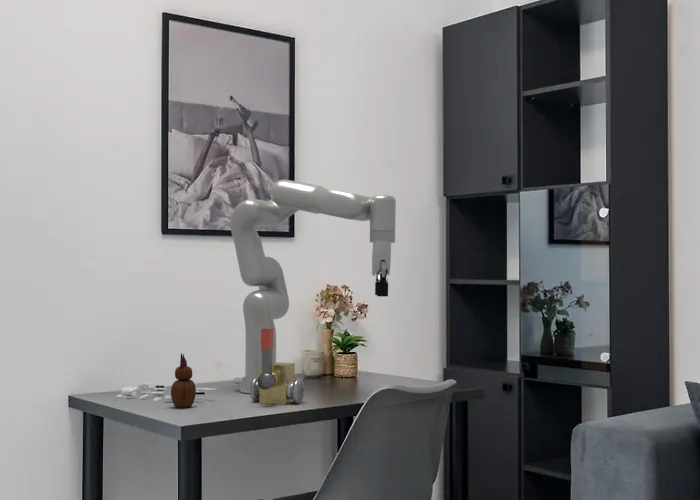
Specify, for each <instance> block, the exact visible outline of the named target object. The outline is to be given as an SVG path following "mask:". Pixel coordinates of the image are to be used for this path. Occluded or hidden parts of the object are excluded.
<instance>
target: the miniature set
mask: <svg viewBox="0 0 700 500" xmlns="http://www.w3.org/2000/svg"><path fill="white" fill-rule="evenodd" d="M149 386H150V383H140V384H139V385H138V387H136V386H134V385H130V386H124V387H123V388H122V389H121V391H120V394H118V395H115V398H118V397H119V398H121V399H125V398H127V396H128V397H129V396H130V397H131V396H132V397H134V396H137V395H138V393H137V391H138V390H139V391H140V392H139V393H140V394H144V395H141V396H140V397H139V398H138V399H139V400H143V399H145V398H148V397H149V396H150V395H149V394H154V395H155V394H159V395H160V394H161V395H162V394H164V393H165V391H167V389H168V388H166V387H165V384H163V385H158V384H156V385H155V387H154V389H153V390H154V391H151V390H150V389H149ZM208 390H209V391H210V390H211V391H212V390H216V388H208V387H196V395H199V396H200V395H206V393H205V391H208ZM158 401H162V397H161V396H160V397H157V396H156V397H155V398H153V399H152V402H158ZM163 401H164V402H165V403H171V402H172V403H173V401H172V398H171V395H164V397H163Z"/></svg>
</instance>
